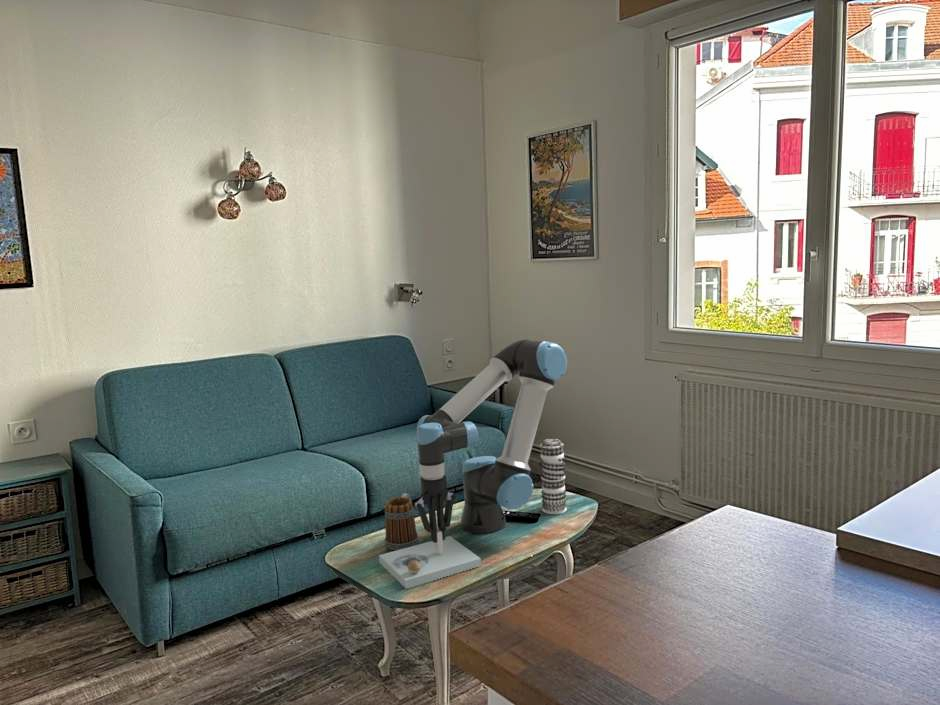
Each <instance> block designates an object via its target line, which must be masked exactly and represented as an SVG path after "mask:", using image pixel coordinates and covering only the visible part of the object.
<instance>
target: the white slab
mask: <svg viewBox="0 0 940 705" xmlns="http://www.w3.org/2000/svg"><path fill="white" fill-rule="evenodd" d="M410 558H416V559H417V560H418V562H419V563H420V570H419V572H418V573H415V574H413V573H410V572H409V570H408V566H407V561H408V559H410ZM378 559H379V564H380V565H381V566H382V567H383V568H384V569H385V570H386V569H387V570H386V571H387V572H388V571H389V572H388V573H389V574H390V573H391V574H390V575H391V576H392V575H393V576H394V577H395V578H396V579H397V580H398V581H399V582H400V585H402V587H403V588H405V590H407V588H408V589H411V588H414V587H417V586H422V585H425V584H428V583H432V582H434V580H435V581H438V580H441V579H444V578H443V577H445V578H447V577H446V576H448V577H450V575H451V576H454V575H453V574H455V573H458V574H460V573H459V572H461V573H463V572H462V571H465V572H467V571H466V570H468V571H470V570H469V569H471V570H473V569H472V568H475V567H478V566H481V567H482V559H481V557H479V556H478V555H477V554H475V553H474V552H472V550H469V548H467V547H466V546H465V545H463V544H461V543H460V542H458V541H457V540H456V539H454V538H453V537H452V536H450V535H449V536H445V540H443V553H438V552H437V551H435V543H434V542H432V540H431V541H430V540H429V541H427V542H424V543H420V544H419V543H418V545H415V546H411V547H408V548H404V549H400V550H396V551H393V552H390V551H389V552H386V553H382V554H379V555H378ZM478 568H479V567H478ZM475 569H476V568H475ZM455 575H456V574H455ZM393 576H392V577H393ZM394 577H393V578H394ZM395 578H394V579H395ZM440 578H441V579H440ZM396 579H395V580H396ZM437 579H438V580H437ZM397 580H396V581H397ZM398 581H397V582H398Z"/></svg>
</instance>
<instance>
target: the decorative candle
mask: <svg viewBox="0 0 940 705" xmlns="http://www.w3.org/2000/svg"><path fill="white" fill-rule="evenodd" d="M564 445H565V444H564V443H563V442H562V441H561V440H560V439H557V438H546V439H544V440H543V441H542V442H541V443H540V445H539V446H540V457H538V460H539V463H538V464H539V466H540V468H539V469H540V470H539V471H540V474H539V475H540V479H541V480H542V485H541V489H542V490H541V492H540V493H541V503H542V505H541V507H542V509H541V510H542V512H544V513H545V514H548V515H561V514H564V513H565V512H567V509H568V508H567V499H566V498H567V490H566V485H565V479H566V472H565V470H566V462H564V461H565V460H566V457H565V454H564Z"/></svg>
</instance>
